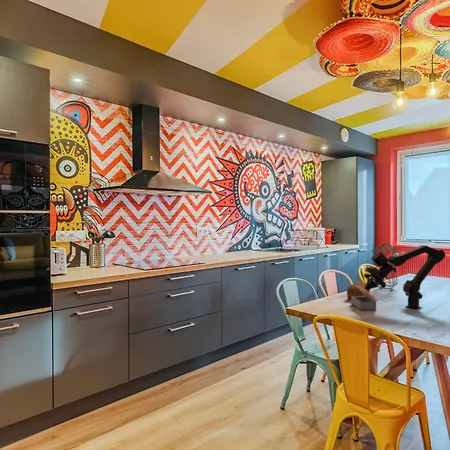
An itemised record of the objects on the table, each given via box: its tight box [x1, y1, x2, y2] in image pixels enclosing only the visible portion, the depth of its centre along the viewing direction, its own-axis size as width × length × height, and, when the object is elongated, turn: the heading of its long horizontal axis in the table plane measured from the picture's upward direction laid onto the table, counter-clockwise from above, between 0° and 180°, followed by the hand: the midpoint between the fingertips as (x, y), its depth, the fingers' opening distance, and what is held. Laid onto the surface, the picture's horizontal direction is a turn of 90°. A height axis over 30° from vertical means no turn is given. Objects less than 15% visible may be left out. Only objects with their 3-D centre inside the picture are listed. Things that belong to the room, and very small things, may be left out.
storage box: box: [350, 297, 377, 312], centre depth 205 cm, size 9×14×5 cm, turn 1°
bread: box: [346, 281, 371, 301], centre depth 229 cm, size 19×11×10 cm, turn 143°
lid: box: [356, 285, 378, 303], centre depth 205 cm, size 9×14×1 cm
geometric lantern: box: [371, 242, 399, 292], centre depth 256 cm, size 16×16×35 cm
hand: (364, 290), depth 205 cm, fingers closed, pressing on lid
